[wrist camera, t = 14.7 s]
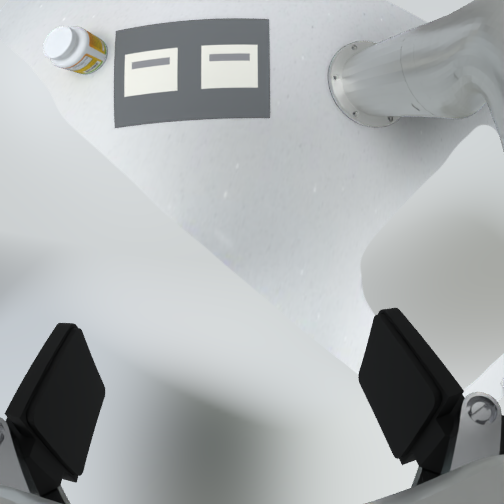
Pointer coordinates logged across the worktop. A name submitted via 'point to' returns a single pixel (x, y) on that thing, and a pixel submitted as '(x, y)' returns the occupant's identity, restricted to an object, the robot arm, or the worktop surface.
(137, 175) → the worktop surface
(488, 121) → the worktop surface
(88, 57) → the supplement bottle
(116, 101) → the label mat
